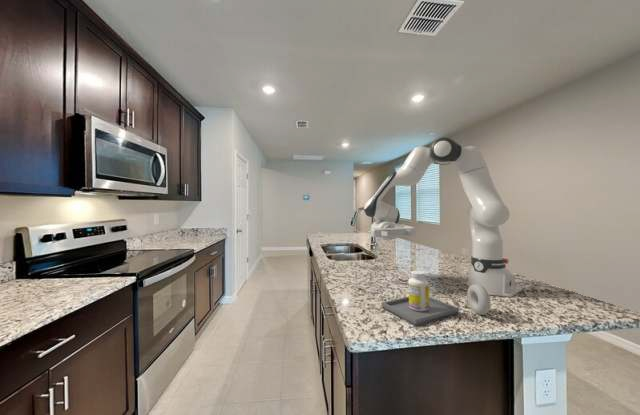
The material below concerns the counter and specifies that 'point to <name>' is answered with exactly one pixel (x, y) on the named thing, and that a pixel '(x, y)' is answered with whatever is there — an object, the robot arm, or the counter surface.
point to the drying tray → (417, 317)
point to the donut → (478, 299)
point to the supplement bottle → (418, 291)
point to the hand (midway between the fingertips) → (399, 233)
